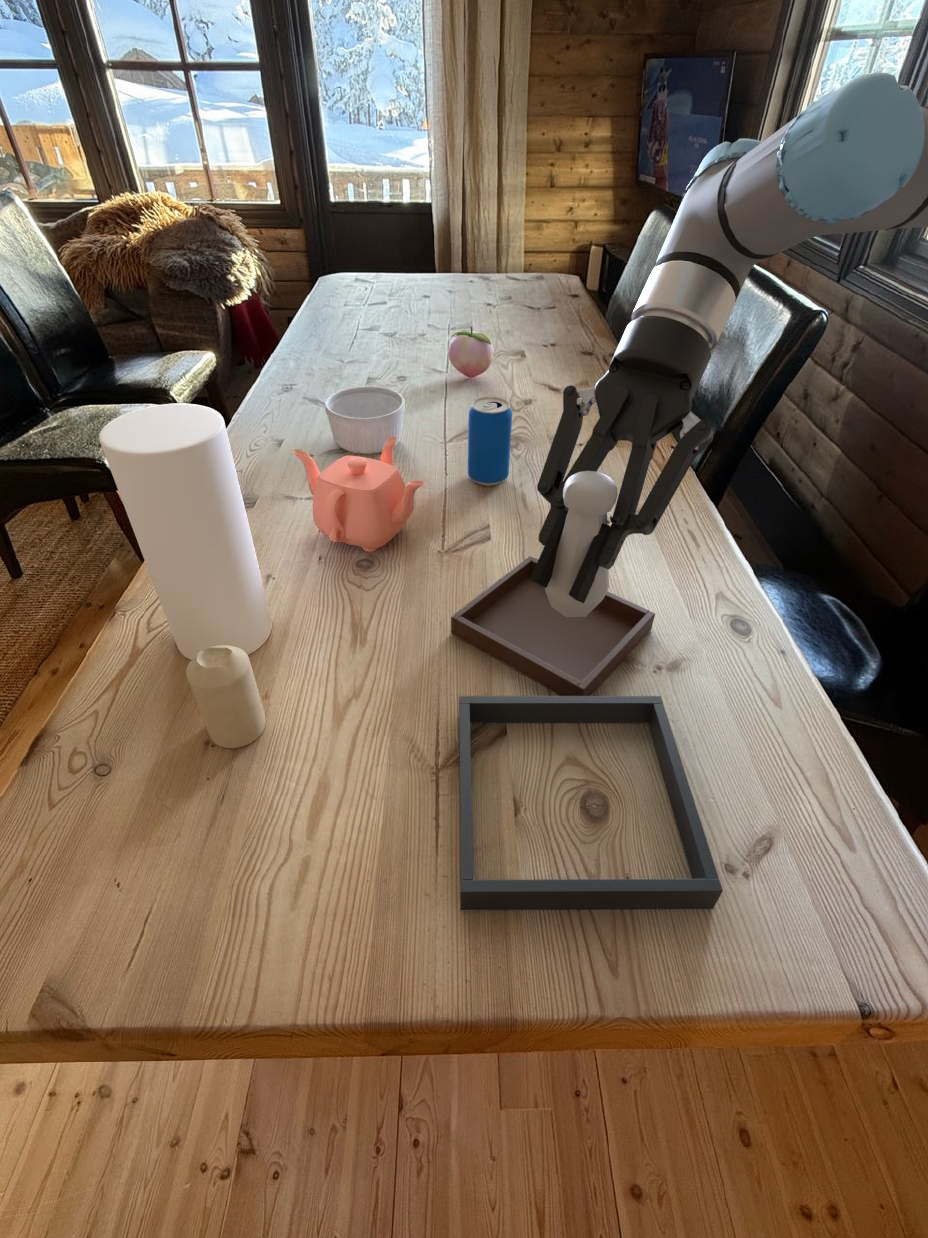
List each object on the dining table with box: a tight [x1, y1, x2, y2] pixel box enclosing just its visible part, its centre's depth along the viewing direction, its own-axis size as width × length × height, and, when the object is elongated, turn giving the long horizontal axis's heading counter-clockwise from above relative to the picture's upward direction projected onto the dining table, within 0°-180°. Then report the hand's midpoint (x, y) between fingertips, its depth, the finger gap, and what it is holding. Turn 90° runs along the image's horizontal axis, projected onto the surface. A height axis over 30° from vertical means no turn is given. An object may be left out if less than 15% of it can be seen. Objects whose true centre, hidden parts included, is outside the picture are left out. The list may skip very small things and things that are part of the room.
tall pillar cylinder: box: [98, 403, 273, 661], centre depth 68 cm, size 11×11×25 cm
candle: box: [185, 645, 267, 749], centre depth 62 cm, size 6×6×10 cm
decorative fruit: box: [447, 326, 494, 379], centre depth 133 cm, size 9×8×10 cm
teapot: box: [292, 437, 426, 552], centre depth 88 cm, size 14×14×11 cm
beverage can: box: [467, 396, 513, 486], centre depth 100 cm, size 6×6×12 cm
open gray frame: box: [458, 695, 724, 911], centre depth 58 cm, size 20×20×3 cm
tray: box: [450, 555, 656, 696], centre depth 76 cm, size 18×16×3 cm
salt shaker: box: [545, 471, 618, 617], centre depth 57 cm, size 6×6×13 cm
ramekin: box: [324, 385, 406, 455], centre depth 111 cm, size 13×13×7 cm
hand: (557, 590), depth 56 cm, fingers closed on salt shaker, 3 cm apart
